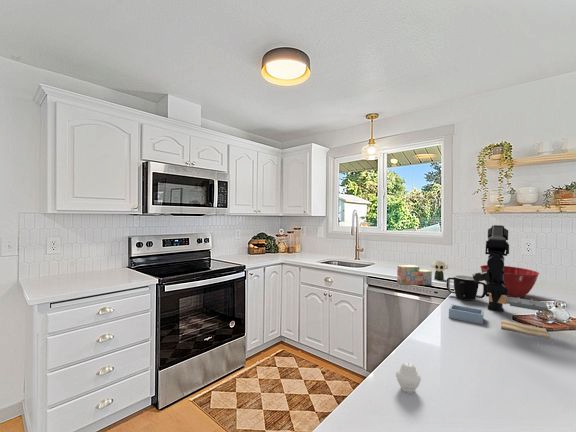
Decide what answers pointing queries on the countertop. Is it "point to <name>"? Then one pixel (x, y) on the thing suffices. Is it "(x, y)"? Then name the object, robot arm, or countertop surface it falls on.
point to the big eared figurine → (439, 269)
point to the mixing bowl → (517, 280)
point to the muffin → (408, 377)
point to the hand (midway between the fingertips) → (494, 303)
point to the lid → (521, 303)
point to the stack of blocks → (413, 275)
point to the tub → (466, 314)
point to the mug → (466, 287)
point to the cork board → (524, 328)
